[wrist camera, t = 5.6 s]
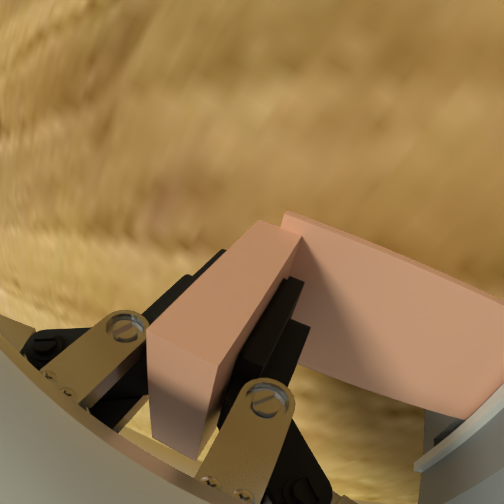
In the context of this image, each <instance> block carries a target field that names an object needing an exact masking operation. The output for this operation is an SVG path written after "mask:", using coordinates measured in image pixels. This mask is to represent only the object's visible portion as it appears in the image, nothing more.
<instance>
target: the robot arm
mask: <svg viewBox="0 0 504 504" xmlns="http://www.w3.org/2000/svg"><path fill="white" fill-rule="evenodd" d="M226 251H227V250H224V249H221V250H220V251H219V252H218V253H217V254H216V255H215V256H214V257H213V258H211V259H210V260H209V261H208V262H207V263H206V264H205V265H204V266H203V267H202V268H201V269H200V270H199V271H198V272H196V273H195V274H194V275H193V276H191V275H189V274H187V275H185V276H183V277H182V278H181V279H180V280H179V281H177V282H176V283H175V284H174V285H173V286H172V287H171V288H170V289H169V290H168V291H166V292H165V293H164V294H163V295H162V296H161V297H160V298H159V299H158V300H157V301H156V302H154V303H153V304H152V305H151V306H150V307H149V308H148V309H147V310H146V311H145V312H144V313H143V314H139V313H137V312H135V311H130V310H119V311H115V312H112V313H111V314H109V315H107V316H106V317H105V318H103V319H102V320H101V321H100V322H98V323H97V324H96V325H94V326H93V327H91V328H72V329H48V330H41V331H38V332H36V330H35V328H32V327H30V326H27V325H25V324H22V323H19V322H17V321H14V320H12V319H9V318H7V317H5V316H2V315H0V504H357V503H356V502H354V501H353V500H351V499H350V498H348V497H347V496H345V495H343V496H342V497H341V496H340V495H338V494H337V493H335V492H334V491H332V487H331V485H330V482H329V480H328V479H327V477H326V475H325V474H324V472H323V470H322V469H321V467H320V465H319V464H318V462H317V460H316V459H315V457H314V455H313V453H312V452H311V450H310V448H309V447H308V445H307V443H306V441H305V440H304V438H303V436H302V435H301V433H300V431H299V429H298V428H297V426H296V424H295V422H294V421H293V419H292V417H293V414H294V411H295V399H294V396H293V394H292V393H291V391H290V389H288V388H287V387H288V385H289V382H290V380H291V377H292V375H293V373H294V370H295V368H296V365H297V363H298V360H299V357H300V355H301V352H302V350H303V347H304V345H305V342H306V339H307V337H308V334H309V331H310V329H311V327H310V326H307V325H305V324H303V323H300V322H298V321H295V320H293V319H291V317H292V314H293V312H294V309H295V307H296V304H297V302H298V299H299V297H300V294H301V291H302V289H303V286H304V283H305V282H304V281H301V280H299V279H296V278H294V277H291V276H289V278H288V280H287V279H285V278H283V280H282V282H281V283H280V285H279V287H278V288H277V290H276V292H275V294H274V295H273V297H272V299H271V300H270V302H269V304H268V305H267V307H266V309H265V310H264V312H263V314H262V315H261V317H260V319H259V320H258V322H257V324H256V325H255V327H254V329H253V330H252V332H251V333H250V335H249V337H248V338H247V340H246V342H245V343H244V345H243V346H242V348H241V350H240V352H239V354H238V356H237V359H236V361H235V365H234V368H233V371H232V375H231V378H230V381H229V385H228V388H227V391H226V395H225V398H224V401H223V405H222V408H221V411H220V416H219V419H218V422H217V427H218V429H219V433H218V435H217V437H216V439H215V441H214V443H213V444H212V446H211V448H210V450H209V452H208V454H207V456H206V457H205V459H204V461H203V463H202V465H201V467H200V468H199V470H198V472H197V474H196V476H195V477H194V478H192V477H190V476H189V475H187V474H185V473H183V472H181V471H179V470H177V469H175V468H173V467H172V466H170V465H168V464H166V463H164V462H163V461H161V460H159V459H157V458H156V457H154V456H152V455H151V454H149V453H147V452H146V451H144V450H142V449H141V448H139V447H137V446H136V445H134V444H133V443H131V442H130V441H128V440H127V439H125V438H124V437H122V436H121V435H119V434H118V433H119V432H120V431H121V430H122V428H123V427H124V426H125V425H126V424H127V423H128V422H129V421H130V420H131V419H132V417H133V416H134V415H135V414H136V413H137V412H138V411H139V410H140V408H141V407H142V406H143V405H144V404H145V403H146V402H147V400H148V399H149V391H148V373H147V346H146V329H147V328H148V327H149V326H150V325H151V324H152V323H153V322H154V321H155V320H156V319H157V318H158V317H159V316H160V315H161V314H162V313H163V312H164V311H165V310H166V309H167V308H168V307H169V306H170V305H171V304H172V303H173V302H174V301H175V300H176V299H177V298H178V297H179V296H181V295H182V294H183V293H184V292H185V291H186V290H187V289H188V288H189V287H190V286H191V285H192V284H193V283H194V282H195V281H196V280H197V279H198V278H199V277H200V276H201V275H202V274H203V273H204V272H205V271H206V270H207V269H208V268H209V267H210V266H211V265H212V264H213V263H214V262H215V261H216V260H218V259H219V258H220V257H221V256H222V255H223V254H224V253H225V252H226Z"/></svg>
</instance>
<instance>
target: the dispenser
mask: <svg viewBox="0 0 504 504" xmlns="http://www.w3.org/2000/svg"><path fill="white" fill-rule="evenodd" d="M413 471H415V472H420V473H422V474H421V484H420V493H419V500H418V504H504V383H503V385H502V386H501V387H500V388H499V389H498V390H497V391H496V392H495V393H494V394H493V395H492V396H491V397H490V398H489V399H488V400H487V401H486V402H485V403H484V404H483V405H482V406H481V407H480V408H479V409H478V410H477V411H476V412H475V413H474V414H473V415H471V416H470V417H469V418H468V419H467V420H463V419H459V418H455V417H452V416H448V415H444V414H441V413H437V412H434V411H431V410H427V409H425V425H424V448H423V456H422V457H420V458H419V459H418V460H416V461H415V462H414V468H413Z"/></svg>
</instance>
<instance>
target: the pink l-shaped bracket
mask: <svg viewBox="0 0 504 504" xmlns="http://www.w3.org/2000/svg"><path fill="white" fill-rule="evenodd" d="M289 276H291V277H294V278H296V279H299V280H301V281H304V282H305V283H304V286H303V289H302V291H301V294H300V297H299V299H298V302H297V304H296V307H295V309H294V312H293V314H292V317H291V319H293V320H295V321H298V322H300V323H303V324H305V325H307V326H310V327H311V329H310V331H309V334H308V337H307V339H306V342H305V345H304V347H303V350H302V352H301V355H300V357H299V360H298V363H297V364H299V365H302V366H304V367H307V368H309V369H312V370H314V371H317V372H319V373H322V374H325V375H327V376H330V377H333V378H335V379H338V380H341V381H343V382H346V383H349V384H351V385H354V386H357V387H360V388H363V389H365V390H368V391H371V392H374V393H377V394H380V395H383V396H386V397H389V398H392V399H395V400H398V401H401V402H404V403H408V404H411V405H414V406H417V407H420V408H424V409H427V410H431V411H434V412H437V413H441V414H444V415H448V416H452V417H455V418H459V419H463V420H467V419H468V418H469V417H470V416H471V415H473V414H474V413H475V412H476V411H477V410H478V409H479V408H480V407H481V406H482V405H483V404H484V403H485V402H486V401H487V400H488V399H489V398H490V397H491V396H492V395H493V394H494V393H495V392H496V391H497V390H498V389H499V388H500V387H501V386H502V385H503V383H504V301H503V300H500V299H498V298H496V297H494V296H492V295H490V294H488V293H486V292H484V291H482V290H480V289H477V288H475V287H473V286H471V285H469V284H467V283H464V282H462V281H460V280H458V279H456V278H453V277H451V276H449V275H447V274H445V273H442V272H440V271H438V270H436V269H433V268H431V267H429V266H426V265H424V264H422V263H419V262H417V261H415V260H412V259H410V258H408V257H405V256H403V255H401V254H398V253H396V252H394V251H391V250H389V249H386V248H384V247H382V246H379V245H377V244H374V243H372V242H369V241H367V240H364V239H362V238H359V237H357V236H354V235H352V234H349V233H347V232H344V231H342V230H339V229H337V228H334V227H331V226H329V225H326V224H324V223H321V222H318V221H316V220H313V219H310V218H308V217H305V216H302V215H300V214H297V213H294V212H292V211H289V210H287V211H286V212H285V213H284V216H283V220H282V223H281V227H278V226H275V225H273V224H270V223H267V222H265V221H262V220H258V221H257V222H256V223H255V224H254V225H253V226H252V227H251V228H250V229H249V230H248V231H247V232H246V233H245V234H244V235H242V236H241V237H240V238H239V239H238V240H237V241H236V242H235V243H234V244H233V245H232V246H231V247H230V248H229V249H228V250H227V251H226V252H225V253H224V254H223V255H222V256H221V257H220V258H219V259H218V260H216V261H215V262H214V263H213V264H212V265H211V266H210V267H209V268H208V269H207V270H206V271H205V272H204V273H203V274H202V275H201V276H200V277H199V278H198V279H197V280H196V281H195V282H194V283H193V284H192V285H191V286H190V287H189V288H188V289H187V290H186V291H185V292H184V293H183V294H182V295H181V296H179V297H178V298H177V299H176V300H175V301H174V302H173V303H172V304H171V305H170V306H169V307H168V308H167V309H166V310H165V311H164V312H163V313H162V314H161V315H160V316H159V317H158V318H157V319H156V320H155V321H154V322H153V323H152V324H151V325H150V326H149V327H148V328H147V329H146V346H147V373H148V391H149V406H150V418H151V429H152V437H153V438H154V439H156V440H158V441H159V442H161V443H163V444H165V445H166V446H168V447H170V448H172V449H174V450H175V451H177V452H179V453H181V454H183V455H185V456H187V457H189V458H191V459H193V460H195V461H196V460H197V458H198V457H199V455H200V454H201V452H202V450H203V449H204V447H205V445H206V444H207V442H208V440H209V439H210V437H211V435H212V434H213V432H214V430H215V429H216V427H217V422H218V419H219V416H220V411H221V408H222V405H223V401H224V398H225V395H226V391H227V388H228V385H229V381H230V378H231V375H232V371H233V368H234V365H235V361H236V359H237V356H238V354H239V352H240V350H241V348H242V346H243V345H244V343H245V342H246V340H247V338H248V337H249V335H250V333H251V332H252V330H253V329H254V327H255V325H256V324H257V322H258V320H259V319H260V317H261V315H262V314H263V312H264V310H265V309H266V307H267V305H268V304H269V302H270V300H271V299H272V297H273V295H274V294H275V292H276V290H277V288H278V287H279V285H280V283H281V282H282V280H283V278H285V279H287V280H288V278H289Z"/></svg>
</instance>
